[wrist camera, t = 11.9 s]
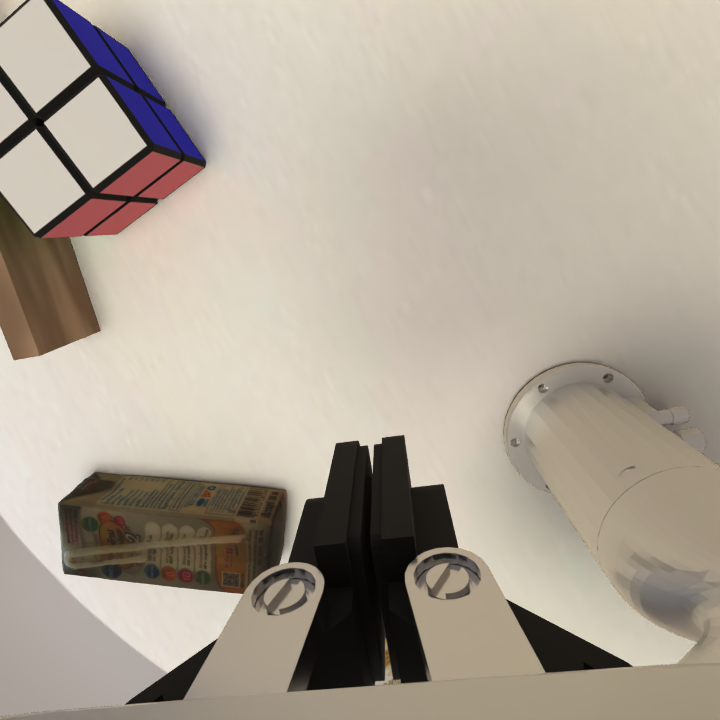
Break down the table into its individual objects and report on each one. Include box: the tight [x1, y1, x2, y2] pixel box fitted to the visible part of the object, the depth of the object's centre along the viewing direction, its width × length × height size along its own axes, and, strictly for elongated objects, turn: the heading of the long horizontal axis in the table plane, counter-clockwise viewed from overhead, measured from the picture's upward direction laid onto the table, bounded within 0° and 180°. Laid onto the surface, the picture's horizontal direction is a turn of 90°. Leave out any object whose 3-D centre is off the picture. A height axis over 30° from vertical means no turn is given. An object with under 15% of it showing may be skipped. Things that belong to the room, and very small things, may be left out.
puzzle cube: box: [0, 0, 205, 238], centre depth 33 cm, size 10×10×10 cm
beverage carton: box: [58, 473, 286, 594], centre depth 44 cm, size 8×19×7 cm, turn 85°
